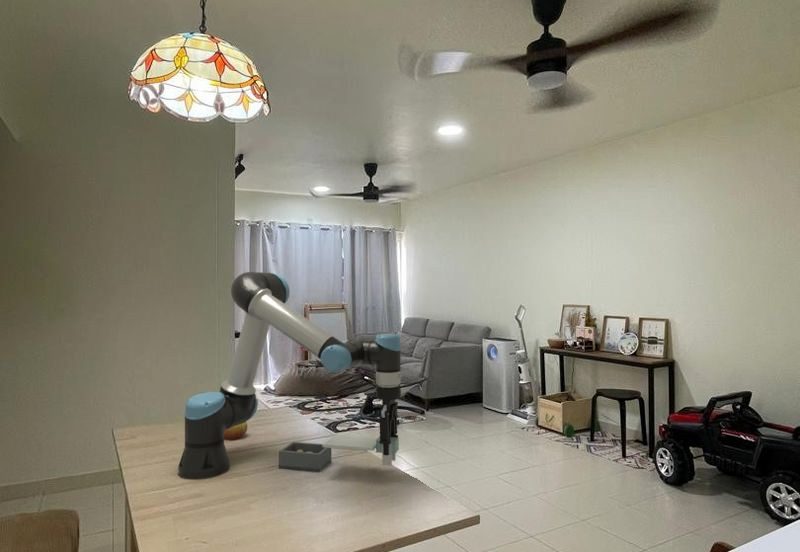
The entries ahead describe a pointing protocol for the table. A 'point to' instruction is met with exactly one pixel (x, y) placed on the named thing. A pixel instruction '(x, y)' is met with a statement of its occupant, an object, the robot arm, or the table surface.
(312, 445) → the tub
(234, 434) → the apple
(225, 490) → the table surface
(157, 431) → the table surface
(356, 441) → the lid
